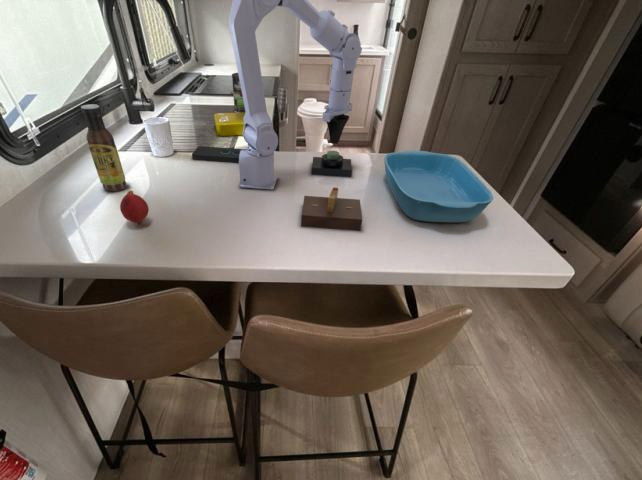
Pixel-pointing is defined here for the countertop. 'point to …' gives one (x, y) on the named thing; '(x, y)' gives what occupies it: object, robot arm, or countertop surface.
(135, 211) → the onion
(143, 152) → the countertop surface
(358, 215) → the plate
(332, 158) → the release button
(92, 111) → the sauce bottle
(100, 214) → the countertop surface
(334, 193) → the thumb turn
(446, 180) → the casserole dish
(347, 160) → the push button box
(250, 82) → the robot arm
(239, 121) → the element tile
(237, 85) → the coffee can
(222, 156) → the smart home device
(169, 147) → the white cup
